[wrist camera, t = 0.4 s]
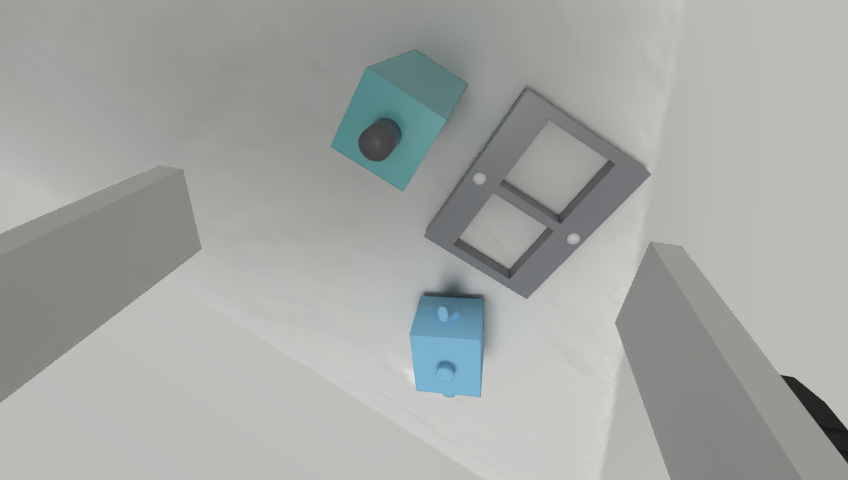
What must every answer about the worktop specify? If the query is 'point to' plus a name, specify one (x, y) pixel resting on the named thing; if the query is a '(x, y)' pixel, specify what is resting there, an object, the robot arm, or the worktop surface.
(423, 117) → the plug
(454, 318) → the boxy blue kettle
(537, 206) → the socket plate
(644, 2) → the worktop surface
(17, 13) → the worktop surface
